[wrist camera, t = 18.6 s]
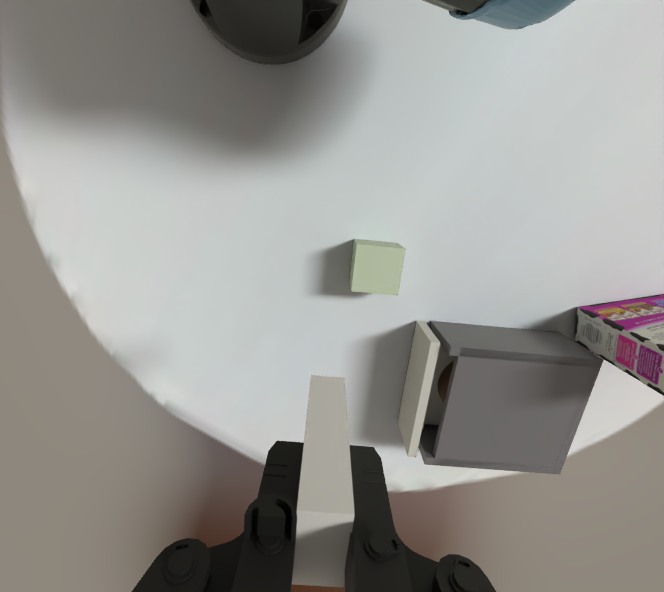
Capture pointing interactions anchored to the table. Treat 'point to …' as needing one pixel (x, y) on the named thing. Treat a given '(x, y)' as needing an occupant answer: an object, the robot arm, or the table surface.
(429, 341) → the cream pull-out drawer
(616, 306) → the candy bar box
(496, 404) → the housing
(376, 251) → the pale green block
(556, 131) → the table surface
